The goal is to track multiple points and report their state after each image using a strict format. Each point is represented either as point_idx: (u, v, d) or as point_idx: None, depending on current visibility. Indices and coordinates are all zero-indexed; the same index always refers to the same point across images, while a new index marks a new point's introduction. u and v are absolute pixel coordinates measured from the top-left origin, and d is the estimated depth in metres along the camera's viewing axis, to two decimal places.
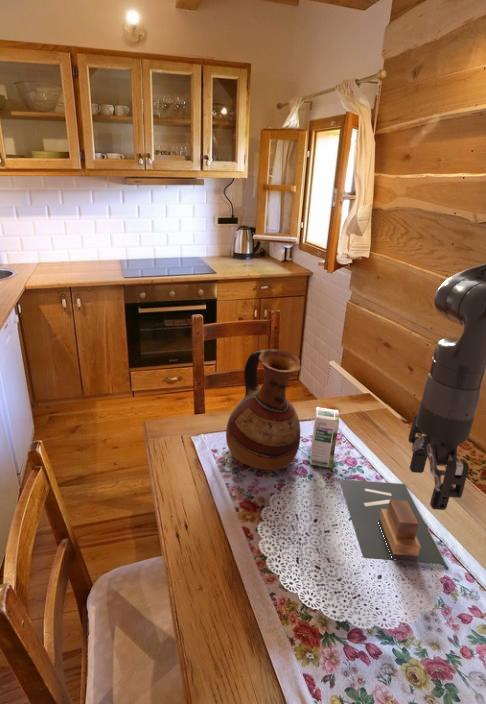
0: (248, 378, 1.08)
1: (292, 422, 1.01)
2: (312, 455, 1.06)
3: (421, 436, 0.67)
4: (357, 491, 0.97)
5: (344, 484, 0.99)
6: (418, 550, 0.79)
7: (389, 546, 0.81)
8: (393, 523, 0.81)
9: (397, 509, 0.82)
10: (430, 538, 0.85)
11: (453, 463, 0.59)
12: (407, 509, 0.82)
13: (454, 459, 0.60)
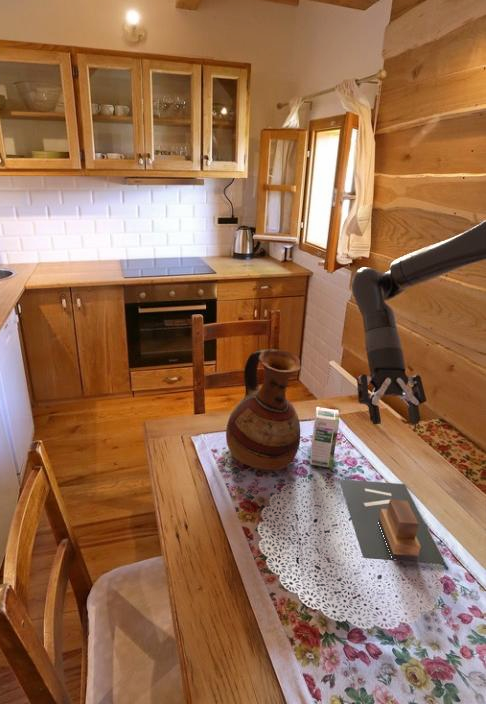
0: (248, 378, 1.08)
1: (292, 422, 1.01)
2: (312, 455, 1.06)
3: None
4: (357, 491, 0.97)
5: (344, 484, 0.99)
6: (418, 550, 0.79)
7: (389, 546, 0.81)
8: (393, 523, 0.81)
9: (397, 509, 0.82)
10: (430, 538, 0.85)
11: (358, 377, 0.90)
12: (407, 509, 0.82)
13: None
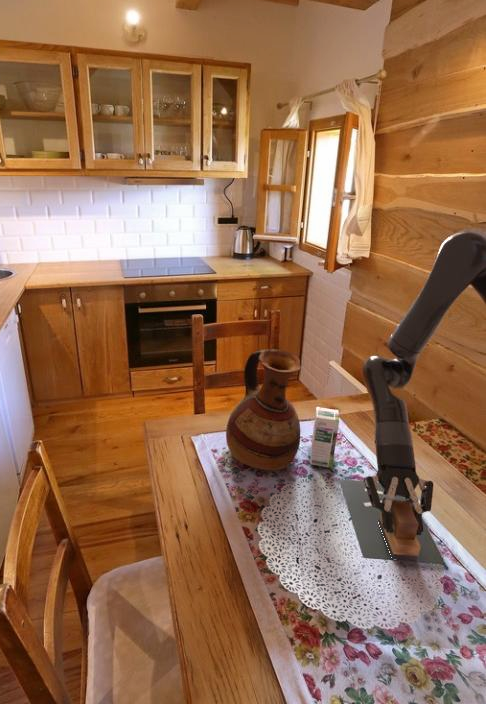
0: (248, 378, 1.08)
1: (292, 422, 1.01)
2: (312, 455, 1.06)
3: None
4: (357, 491, 0.97)
5: (344, 484, 0.99)
6: (418, 550, 0.79)
7: (389, 546, 0.81)
8: (393, 523, 0.81)
9: (397, 509, 0.81)
10: (430, 538, 0.85)
11: (365, 477, 0.86)
12: (407, 509, 0.82)
13: None
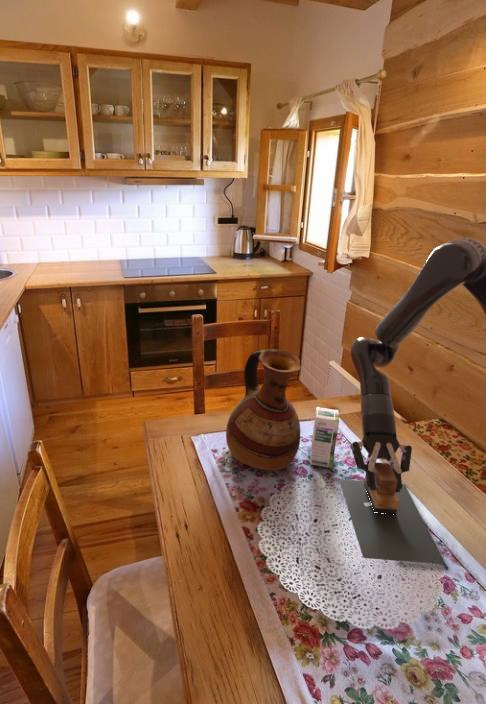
0: (248, 378, 1.08)
1: (292, 422, 1.01)
2: (312, 455, 1.06)
3: None
4: (357, 491, 0.97)
5: (344, 484, 0.99)
6: (397, 504, 0.90)
7: (372, 502, 0.92)
8: (376, 482, 0.92)
9: (379, 470, 0.93)
10: (430, 538, 0.85)
11: None
12: (388, 470, 0.93)
13: None
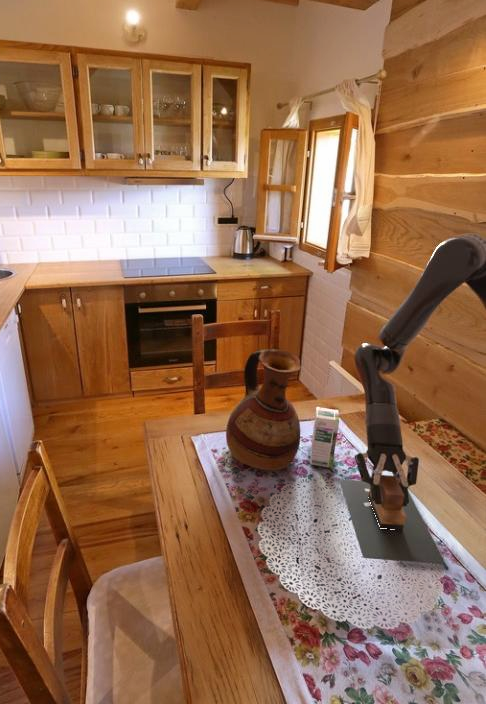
0: (248, 378, 1.08)
1: (292, 422, 1.01)
2: (312, 455, 1.06)
3: None
4: (357, 491, 0.97)
5: (344, 484, 0.99)
6: (404, 519, 0.86)
7: (377, 517, 0.88)
8: (381, 496, 0.88)
9: (385, 483, 0.88)
10: (430, 538, 0.85)
11: (356, 455, 0.93)
12: (394, 483, 0.89)
13: None
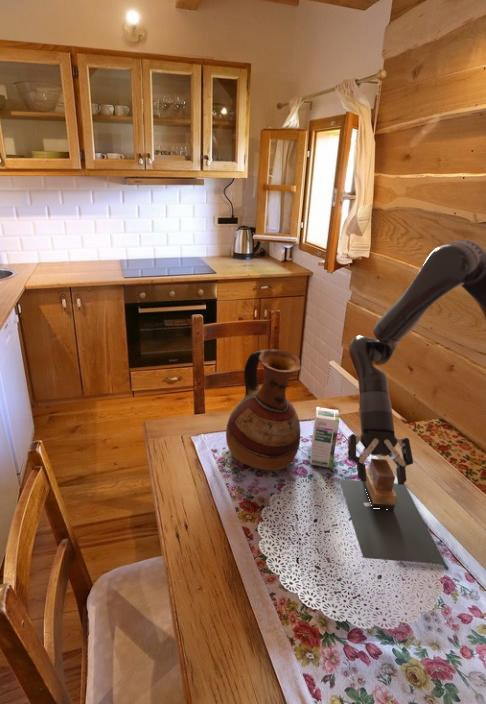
0: (248, 378, 1.08)
1: (292, 422, 1.01)
2: (312, 455, 1.06)
3: None
4: (357, 491, 0.97)
5: (344, 484, 0.99)
6: (395, 500, 0.91)
7: (370, 498, 0.94)
8: (374, 478, 0.94)
9: (377, 466, 0.94)
10: (430, 538, 0.85)
11: (350, 436, 0.99)
12: (386, 466, 0.94)
13: None
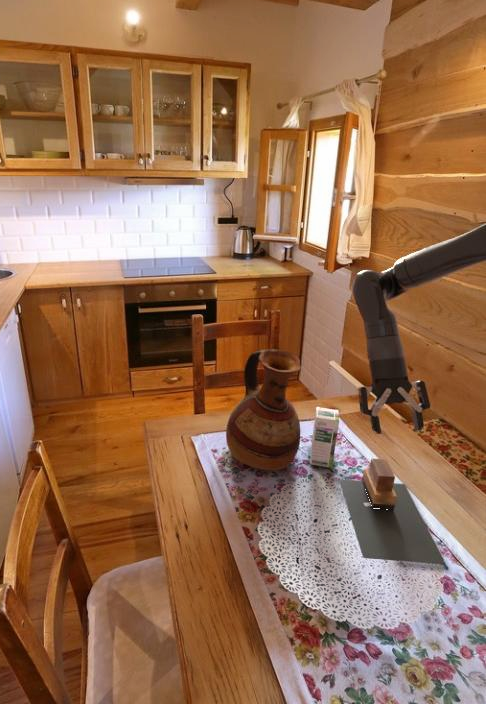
0: (248, 378, 1.08)
1: (292, 422, 1.01)
2: (312, 455, 1.06)
3: None
4: (357, 491, 0.97)
5: (344, 484, 0.99)
6: (395, 500, 0.91)
7: (370, 498, 0.94)
8: (374, 478, 0.94)
9: (377, 466, 0.94)
10: (430, 538, 0.85)
11: (359, 387, 0.91)
12: (386, 466, 0.94)
13: (365, 387, 0.90)
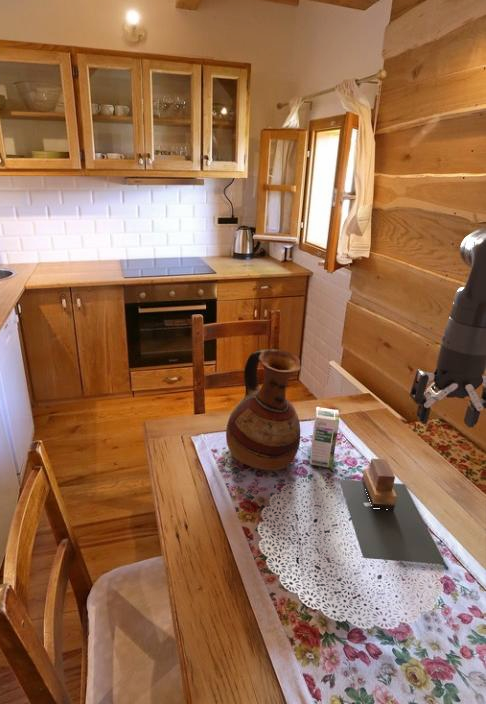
0: (248, 378, 1.08)
1: (292, 422, 1.01)
2: (312, 455, 1.06)
3: None
4: (357, 491, 0.97)
5: (344, 484, 0.99)
6: (395, 500, 0.91)
7: (370, 498, 0.94)
8: (374, 478, 0.94)
9: (377, 466, 0.94)
10: (430, 538, 0.85)
11: (419, 370, 0.74)
12: (386, 466, 0.94)
13: (427, 372, 0.74)
